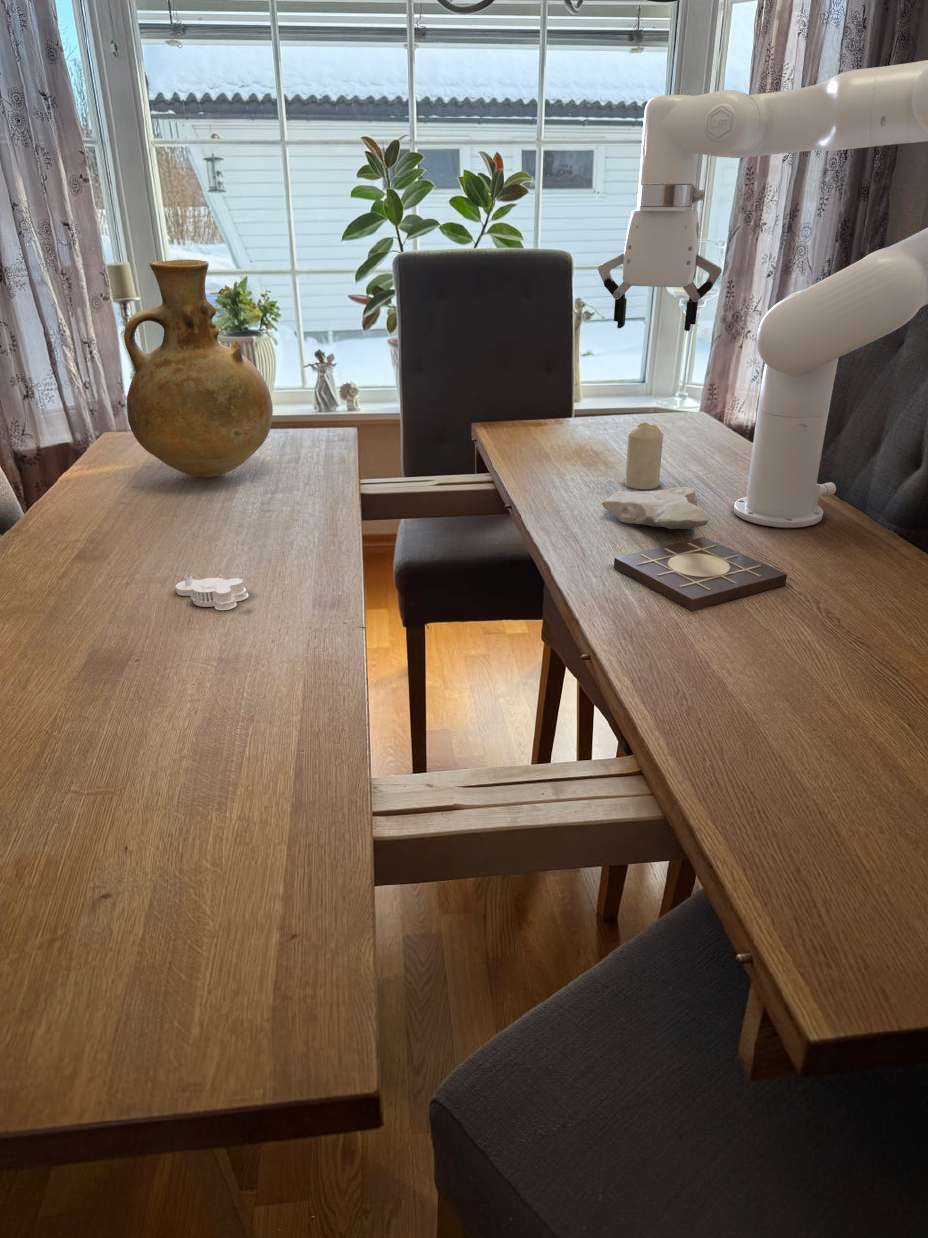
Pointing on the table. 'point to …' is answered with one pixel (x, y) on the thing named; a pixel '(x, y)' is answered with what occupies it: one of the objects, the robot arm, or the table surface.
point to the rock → (658, 508)
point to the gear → (213, 591)
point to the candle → (644, 457)
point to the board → (699, 572)
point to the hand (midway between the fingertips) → (653, 328)
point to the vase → (194, 382)
